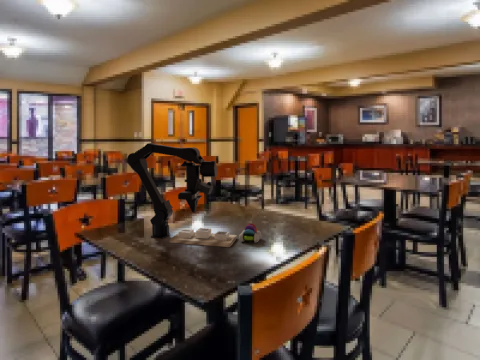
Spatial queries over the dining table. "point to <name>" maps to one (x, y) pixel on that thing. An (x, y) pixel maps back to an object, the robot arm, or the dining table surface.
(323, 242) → the dining table surface
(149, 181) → the robot arm
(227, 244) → the tan curved board
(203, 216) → the dining table surface
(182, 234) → the tile one
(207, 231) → the tile two
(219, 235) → the tile three
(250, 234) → the rainbow lobed toy
